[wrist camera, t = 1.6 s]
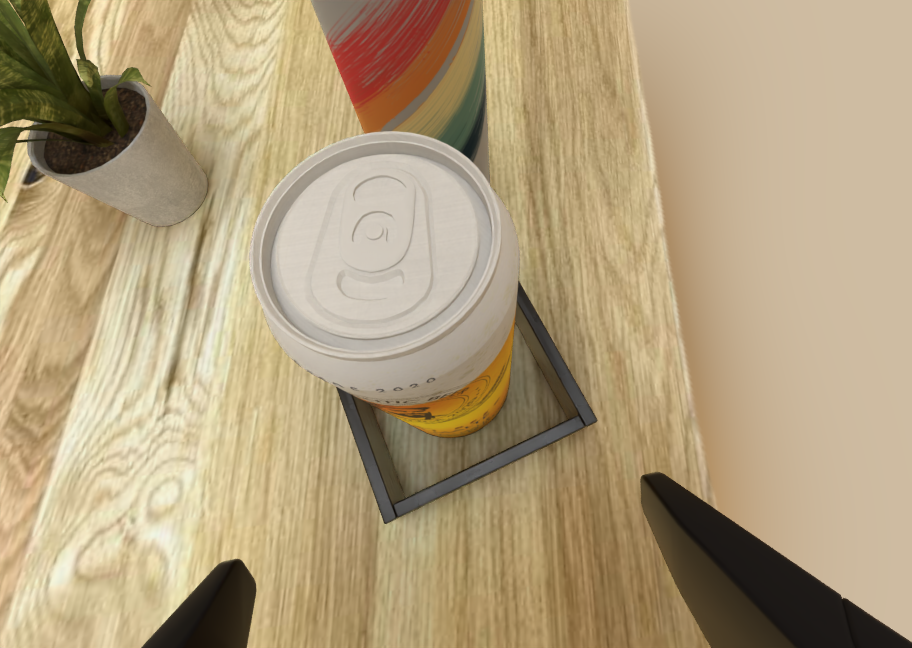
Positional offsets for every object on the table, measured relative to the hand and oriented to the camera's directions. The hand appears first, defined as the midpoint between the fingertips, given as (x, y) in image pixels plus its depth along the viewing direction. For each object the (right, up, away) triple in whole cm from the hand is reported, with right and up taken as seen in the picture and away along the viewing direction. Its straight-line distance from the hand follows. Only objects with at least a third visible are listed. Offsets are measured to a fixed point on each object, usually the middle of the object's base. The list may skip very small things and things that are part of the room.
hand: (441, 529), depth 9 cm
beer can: (0, +1, +14) cm, 14 cm away
